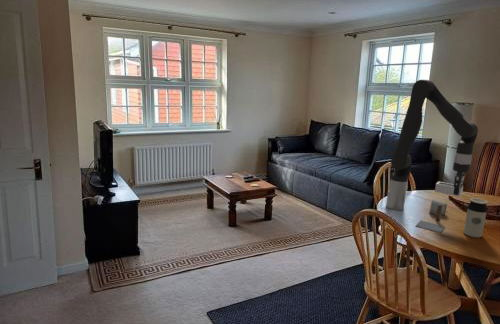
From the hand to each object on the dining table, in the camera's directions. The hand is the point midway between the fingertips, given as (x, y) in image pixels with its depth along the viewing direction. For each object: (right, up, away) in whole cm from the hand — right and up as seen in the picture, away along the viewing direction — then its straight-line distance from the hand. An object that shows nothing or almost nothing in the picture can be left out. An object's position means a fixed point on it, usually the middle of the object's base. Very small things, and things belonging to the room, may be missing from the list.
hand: (456, 193), depth 190 cm
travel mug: (+3, -20, -8) cm, 22 cm away
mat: (-14, -17, 0) cm, 23 cm away
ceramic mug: (0, -13, +20) cm, 24 cm away
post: (-6, -16, +8) cm, 19 cm away
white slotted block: (-3, 0, +3) cm, 4 cm away
